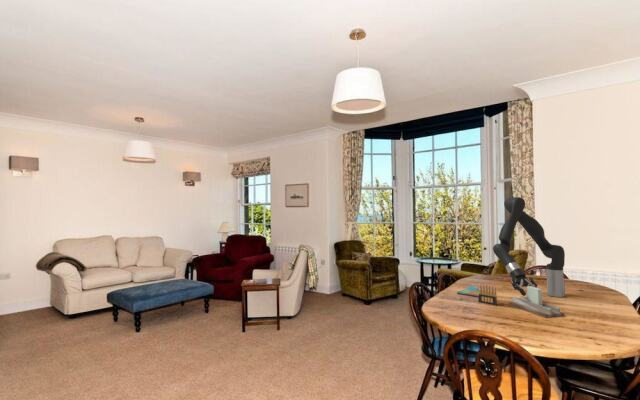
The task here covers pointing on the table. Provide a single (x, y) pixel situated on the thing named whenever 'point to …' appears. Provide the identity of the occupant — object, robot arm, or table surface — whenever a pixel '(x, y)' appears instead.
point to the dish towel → (470, 292)
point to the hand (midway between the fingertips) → (531, 294)
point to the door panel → (534, 295)
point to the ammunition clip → (487, 294)
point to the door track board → (536, 308)
